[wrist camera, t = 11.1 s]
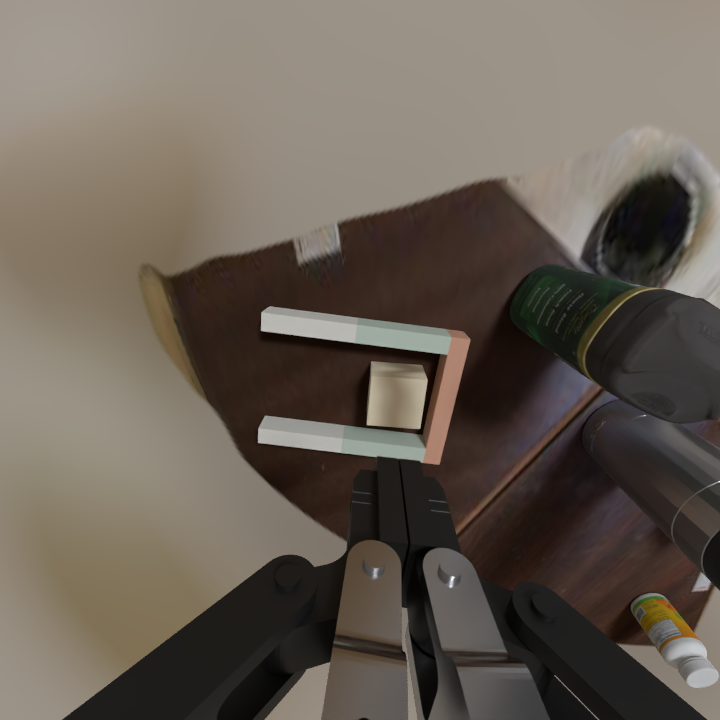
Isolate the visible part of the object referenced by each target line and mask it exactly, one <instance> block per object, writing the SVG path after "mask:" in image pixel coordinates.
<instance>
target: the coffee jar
mask: <svg viewBox="0 0 720 720" xmlns="http://www.w3.org/2000/svg"><path fill="white" fill-rule="evenodd" d="M510 318H511V320H512V322H513V323H514V325H515V326H517V327H518V328H519V329H520V330H522V331H523V332H524V333H526V334H527V335H528V336H530V337H531V338H532V339H534V340H535V341H537V342H538V343H539V344H541V345H542V346H544V347H545V348H547V349H548V350H549V351H551V352H552V353H553V354H554V355H556V356H557V357H559V358H560V359H561V360H562V361H564V362H565V363H567V364H568V365H570V366H571V367H572V368H574V369H575V370H577V371H578V372H579V373H581V374H582V375H584V376H585V377H587V378H588V379H590V380H591V381H593V382H594V383H596V384H597V385H599V386H600V387H602V388H603V389H605V390H606V391H608V392H609V393H611V394H613V395H614V396H616V397H618V398H620V400H622V401H624V402H625V403H627V404H629V405H631V406H633V407H635V408H637V409H639V410H641V411H643V412H645V413H647V414H650V415H652V416H654V417H656V418H659V419H661V420H664V421H667V422H671V423H695V422H701V421H705V420H713V419H717V418H719V417H720V309H718V308H717V307H715V306H714V305H712V304H711V303H709V302H708V301H706V300H704V299H702V298H694V297H690V296H687V295H684V294H680V293H677V292H674V291H670V290H666V289H661V288H653V287H645V286H640V285H636V284H631V283H627V282H623V281H619V280H615V279H611V278H607V277H603V276H599V275H595V274H590V273H587V272H583V271H580V270H576V269H572V268H568V267H565V266H560V265H555V264H549V265H544V266H541V267H539V268H538V269H536V270H535V271H533V272H532V273H531V274H530V275H529V276H528V277H527V278H526V280H525V281H524V282H523V284H522V285H521V286H520V288H519V289H518V291H517V292H516V294H515V296H514V298H513V300H512V302H511V306H510Z"/></svg>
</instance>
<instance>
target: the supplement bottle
mask: <svg viewBox="0 0 720 720" xmlns="http://www.w3.org/2000/svg"><path fill="white" fill-rule="evenodd" d="M631 611H632V613H633V615H634V616H635V618H636V619H637V621H638V622H639V624H640V625H641V627H642V628H643V629H644V631H645V632H646V634H647V635H648V637H649V638H650V640H651V641H652V643H653V644H654V646H655V647H656V648H657V650H658V651H659V653H660V654H661V656H662V657H663V659H664V660H665V661H666V662H667V663H668V664H669V665H670V666H672V667H674V668H676V669H678V670H679V673H680V675H681V676H682V677H683V679H684V680H685V682H686V683H687V684H688V685H689V686H691V687H694V688H703V687H707V686H710V685H712V684H713V683H715V682H716V681H717V680H718V678H719V674H718V672H717V671H716V669H715V668H714V667H713V665H712V664H711V663H710V661H709V660H708V659H706V657H707V651H706V649H705V647H704V645H703V644H702V643H701V642H700V640H699V639H698V638H697V636H696V635H695V634H694V632H693V631H692V630H691V629H690V627H689V626H688V625H687V624H686V622H685V621H684V620H683V619H682V617H681V616H680V615H679V614H678V612H677V611H676V610H675V609H674V607H673V606H672V605H671V604H670V602H669V601H668V600H667V599H666V598H665V597H664V596H663V595H661V594H657V593H646V594H643V595H641V596H639V597H637V598H636V599H635V600H634V601H633V602H632V604H631Z"/></svg>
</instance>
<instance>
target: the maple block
mask: <svg viewBox="0 0 720 720" xmlns="http://www.w3.org/2000/svg"><path fill="white" fill-rule="evenodd" d="M427 382H428V380H427V377H426V374H425V372H424V369H423V367H422V365H412V364H399V363H386V362H373V361H371V368H370V379H369V390H368V401H367V425H373V426H386V427H399V428H412V429H420V427H421V421H422V414H423V408H424V401H425V395H426V388H427Z"/></svg>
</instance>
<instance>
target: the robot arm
mask: <svg viewBox="0 0 720 720" xmlns="http://www.w3.org/2000/svg"><path fill="white" fill-rule="evenodd" d="M582 443H583V447H584V449H585V451H586V452H587V453H588V454H589V455H590V456H591V457H592V458H593V459H594V460H595V462H596V463H597V464H598V465H599V466H600V467H601V468H602V469H603V470H604V471H605V472H606V473H607V474H608V475H609V476H610V477H611V479H612V480H613V481H614V482H615V483H616V484H617V485H618V486H619V487H620V488H621V489H622V490H623V491H624V492H625V493H626V494H627V495H628V496H629V497H630V498H631V499H632V500H633V501H634V502H635V503H636V505H637V506H638V507H639V508H640V509H641V510H642V511H643V512H644V513H645V514H646V515H647V516H648V517H649V518H650V519H651V520H652V521H653V522H654V523H655V524H656V525H657V526H658V527H659V528H660V529H661V531H662V532H663V533H664V534H665V535H666V536H667V537H668V538H669V539H670V540H671V541H672V542H673V543H674V544H675V545H676V546H677V547H678V548H679V549H680V550H681V551H682V552H683V553H684V554H685V555H686V556H687V557H688V558H689V559H690V560H691V561H692V563H693V564H694V565H695V566H696V567H697V568H698V569H699V570H700V571H701V572H702V573H703V574H704V575H705V576H706V577H707V578H708V579H709V580H710V581H711V582H712V583H713V584H714V585H715V586H716V587H717V588H718V589H719V590H720V449H719V448H718V447H716V446H715V445H713V444H712V443H710V442H708V441H707V440H705V439H704V438H702V437H700V436H699V435H697V434H696V433H694V432H693V431H691V430H689V429H688V428H686V427H685V426H683V425H682V424H680V423H671V422H667V421H664V420H661V419H659V418H656V417H654V416H652V415H650V414H647V413H645V412H643V411H641V410H639V409H637V408H635V407H633V406H631V405H629V404H627V403H625V402H624V401H622V400H616V401H613V402H611V403H608V404H606V405H604V406H603V407H601V408H599V409H598V410H597V411H596V412H595V413H593V414H592V416H591V417H590V418H589V419H588V421H587V422H586V424H585V426H584V429H583V432H582ZM402 607H404V608H407V611H408V620H409V621H408V626H407V630H406V636H405V637H406V646H407V652H408V659H409V666H410V672H411V678H412V685H413V692H414V698H415V705H416V712H417V718H418V720H597V719H596V718H595V717H594V716H593V715H592V714H591V712H592V713H593V714H594V715H596V717H597V718H599V720H707V719H706V718H704V717H703V716H702V715H701V714H700V713H699V712H697V711H696V710H695V709H694V708H693V707H691V706H690V705H689V704H688V703H687V702H685V701H684V700H683V699H682V698H681V697H679V696H678V695H677V694H676V693H674V692H673V691H672V690H671V689H669V687H667V686H666V685H665V684H664V683H662V682H661V681H660V680H659V679H658V678H657V677H655V676H654V675H653V674H652V673H651V672H649V671H648V670H647V669H646V668H645V667H643V666H642V665H641V664H640V663H639V662H637V661H636V660H635V659H634V658H633V657H631V656H630V655H629V654H628V653H627V652H625V651H624V650H623V649H622V648H621V647H619V646H618V645H617V644H616V643H615V642H613V641H612V640H611V639H610V638H609V637H607V636H606V635H605V634H604V633H603V632H601V631H600V630H599V629H598V628H597V627H596V626H594V625H593V624H592V623H591V622H590V621H588V620H587V619H586V618H585V617H584V616H582V615H581V614H580V613H579V612H578V611H576V610H575V609H574V608H573V607H572V606H570V605H569V604H568V603H567V602H566V601H564V600H563V599H562V598H561V597H560V596H558V595H557V594H556V593H555V592H553V591H552V590H550V589H549V588H547V587H545V586H543V585H540V584H537V583H533V582H523V583H520V584H518V585H517V586H516V587H515V588H514V591H513V592H512V591H510V590H508V589H505V588H503V587H500V586H498V585H495V584H493V583H491V582H488V581H486V580H485V579H483V578H481V577H480V576H479V575H477V573H476V571H475V569H474V567H473V565H472V564H471V563H470V562H469V560H468V559H466V558H465V557H464V556H463V555H462V553H461V550H460V546H459V543H458V539H457V535H456V532H455V528H454V525H453V521H452V517H451V514H450V510H449V507H448V504H447V499H446V496H445V492H444V489H443V488H442V486H441V485H440V484H439V483H438V481H437V480H436V479H435V478H434V477H425V476H424V475H423V470H422V466H421V462H420V461H418V460H409V459H400V458H399V459H398V458H391V457H382V456H377V457H376V462H375V468H374V471H372V470H363V469H361V470H360V471H359V472H358V474H357V475H356V477H355V478H354V482H353V490H352V497H351V505H350V512H349V525H348V539H347V551H346V552H345V554H344V555H343V556H342V557H341V558H340V559H338V560H336V561H335V562H333V563H330V564H327V565H323V566H317V567H314V566H313V565H312V564H311V563H310V562H309V561H308V560H307V559H305V558H303V557H301V556H297V555H283V556H280V557H277V558H275V559H273V560H272V561H270V562H269V563H267V564H266V565H265V566H263V567H262V568H261V569H260V570H258V571H257V572H256V573H254V574H253V575H252V576H250V577H249V578H248V579H246V580H245V581H244V582H242V583H241V584H240V585H239V586H237V587H236V588H234V589H233V590H232V591H231V592H229V593H228V594H227V595H225V596H224V597H223V598H222V599H220V600H219V601H217V602H216V603H215V604H214V605H212V606H211V607H210V608H208V609H207V610H206V611H204V612H203V613H202V614H200V615H199V616H198V617H196V618H195V619H194V620H193V621H191V622H190V623H189V624H187V625H186V626H185V627H183V628H182V629H181V630H179V631H178V632H177V633H175V634H174V635H173V636H172V637H170V638H169V639H168V640H166V641H165V642H164V643H162V644H161V645H160V646H158V647H157V648H156V649H154V650H153V651H152V652H151V653H149V654H148V655H147V656H145V657H144V658H143V659H141V660H140V661H139V662H137V663H136V664H135V665H133V666H132V667H131V668H130V669H128V670H127V671H126V672H124V673H123V674H122V675H120V676H119V677H118V678H117V679H115V680H114V681H112V682H111V683H110V684H109V685H107V686H106V687H105V688H103V689H102V690H101V691H99V692H98V693H97V694H95V695H94V696H93V697H92V698H90V699H89V700H88V701H86V702H85V703H84V704H82V705H81V706H80V707H79V708H77V709H76V710H74V711H73V712H72V713H71V714H70V715H68V716H67V717H65V718H64V719H63V720H264V719H265V718H266V717H267V716H268V715H269V714H270V712H271V711H272V710H273V709H274V708H275V707H276V706H277V704H278V703H279V702H280V701H281V700H282V699H283V698H284V696H285V695H286V694H287V693H288V692H289V690H290V689H291V688H292V687H293V686H294V685H295V684H296V683H297V681H298V680H299V679H300V678H301V677H302V675H303V674H304V672H305V671H306V669H308V668H312V667H315V666H318V665H321V664H325V663H328V662H330V668H329V674H328V680H327V686H326V693H325V699H324V706H323V712H322V718H321V720H408V687H407V660H406V654H405V652H403V650H402ZM554 675H556V676H557V677H558V678H559V679H560V680H561V681H562V682H563V683H564V684H565V685H566V686H567V687H568V688H569V689H570V690H571V691H572V692H573V693H574V694H575V695H576V696H577V697H578V698H579V699H580V700H581V701H582V703H584V705H585V706H586V707H587V708H588V709H589V710H590V711H591V712H590V711H588V710H587V708H585V706H584V705H582V703H581V702H580V701H578V699H577V698H576V697H575V696H574V695H573V694H571V692H570V691H569V690H568V689H567V688H566V687H565V686H564V685H563V684H562V683H561V682H560V681H559V680H558V679H557V678H556V677H555V676H554Z"/></svg>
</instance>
